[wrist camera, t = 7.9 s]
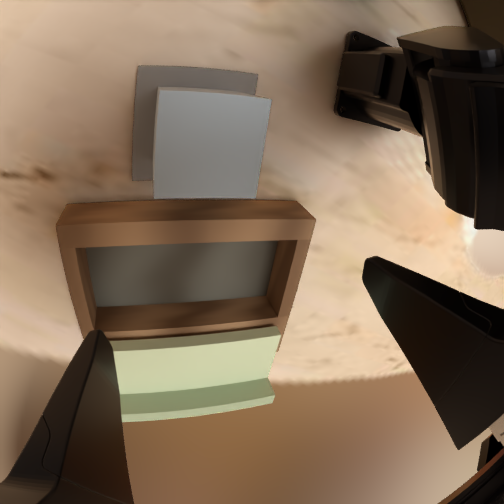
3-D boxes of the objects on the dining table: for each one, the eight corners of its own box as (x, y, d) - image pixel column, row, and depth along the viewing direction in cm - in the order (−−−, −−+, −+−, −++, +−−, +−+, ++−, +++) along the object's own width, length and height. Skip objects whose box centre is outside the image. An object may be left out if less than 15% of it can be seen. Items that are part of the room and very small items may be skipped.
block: (235, 91, 16) (271, 99, 11) (225, 161, 18) (255, 198, 14) (158, 86, 15) (159, 90, 10) (152, 160, 17) (153, 198, 12)
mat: (256, 74, 16) (258, 74, 16) (240, 178, 20) (242, 180, 19) (138, 65, 14) (138, 65, 14) (132, 178, 17) (132, 180, 17)
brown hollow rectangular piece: (297, 201, 22) (316, 219, 20) (266, 328, 29) (278, 351, 26) (67, 204, 17) (55, 225, 14) (96, 342, 23) (94, 369, 21)
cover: (276, 325, 24) (291, 354, 21) (261, 377, 27) (272, 402, 25) (97, 341, 19) (95, 374, 17) (114, 393, 23) (116, 422, 20)
